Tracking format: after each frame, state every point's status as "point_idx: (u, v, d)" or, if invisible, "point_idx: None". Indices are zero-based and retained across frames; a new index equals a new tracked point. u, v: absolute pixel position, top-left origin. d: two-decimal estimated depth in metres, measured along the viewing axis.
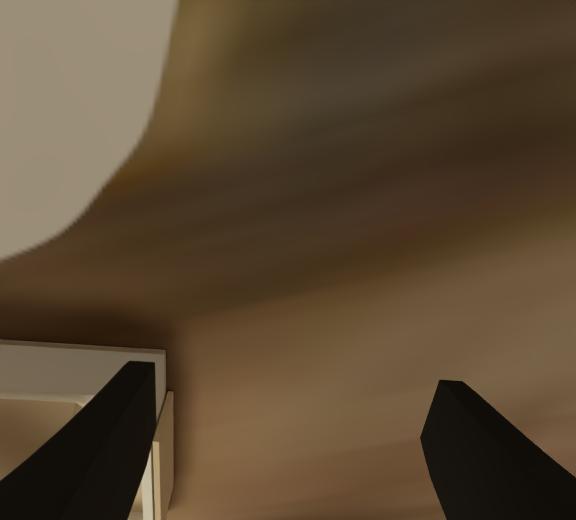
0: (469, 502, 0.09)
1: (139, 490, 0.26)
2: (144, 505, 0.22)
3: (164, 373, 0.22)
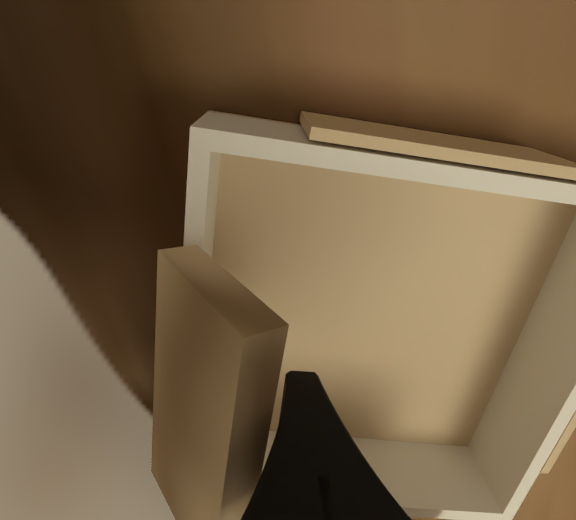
0: None
1: (518, 210, 0.14)
2: (485, 187, 0.11)
3: (249, 117, 0.13)
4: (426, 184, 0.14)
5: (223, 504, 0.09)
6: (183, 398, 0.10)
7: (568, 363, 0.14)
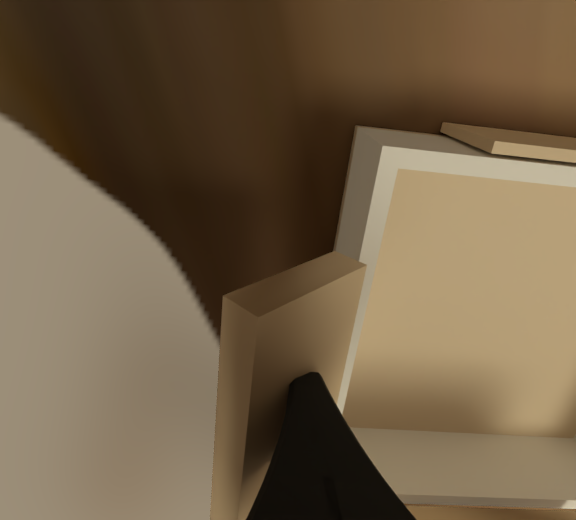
0: None
1: None
2: None
3: (396, 131, 0.13)
4: (558, 187, 0.14)
5: (215, 453, 0.10)
6: None
7: None
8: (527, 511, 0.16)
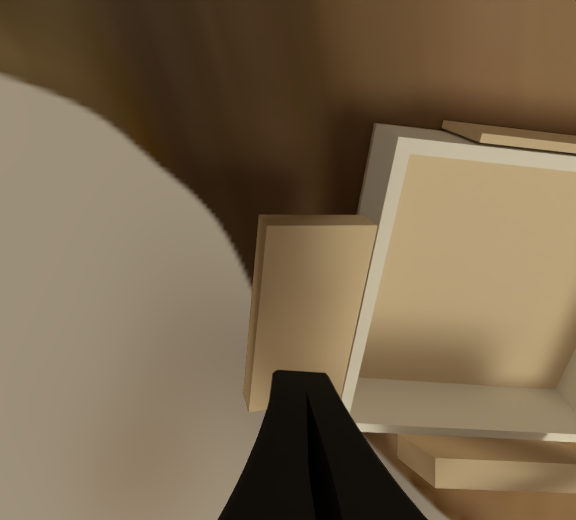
0: None
1: None
2: None
3: (407, 127, 0.17)
4: (536, 172, 0.18)
5: (249, 329, 0.15)
6: None
7: None
8: (514, 440, 0.19)
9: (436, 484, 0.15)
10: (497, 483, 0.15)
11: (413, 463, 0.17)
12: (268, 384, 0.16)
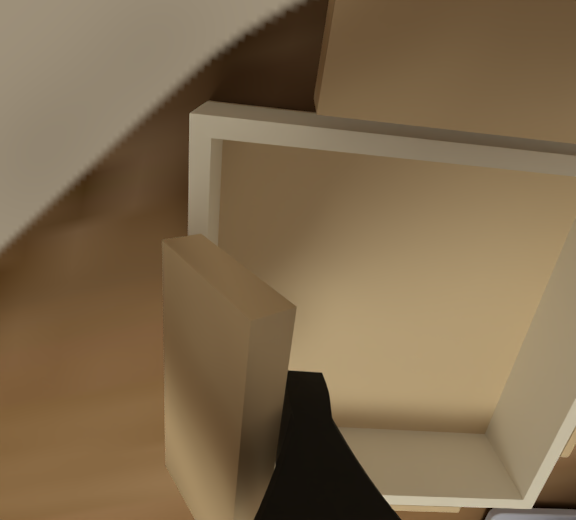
0: None
1: (474, 397, 0.18)
2: None
3: None
4: (510, 331, 0.16)
5: None
6: None
7: (382, 480, 0.16)
8: None
9: (256, 321, 0.07)
10: (251, 418, 0.08)
11: (209, 270, 0.09)
12: None
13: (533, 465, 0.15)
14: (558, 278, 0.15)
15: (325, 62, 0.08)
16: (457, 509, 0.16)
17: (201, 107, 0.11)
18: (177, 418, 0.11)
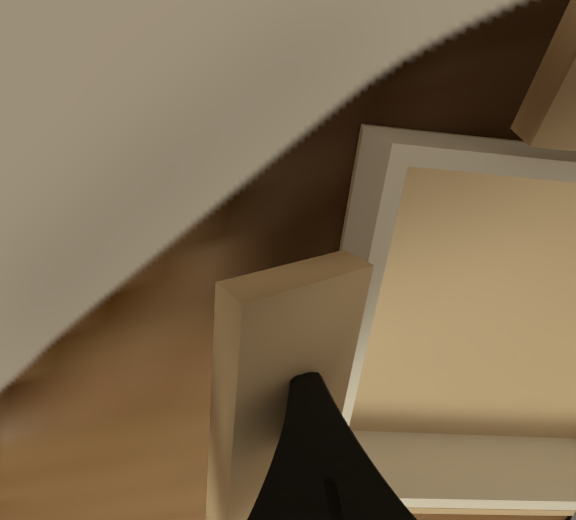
0: None
1: None
2: None
3: None
4: None
5: None
6: None
7: (500, 486, 0.16)
8: None
9: (218, 286, 0.09)
10: (217, 378, 0.09)
11: (297, 267, 0.10)
12: None
13: None
14: None
15: (553, 99, 0.09)
16: (572, 512, 0.17)
17: (380, 134, 0.11)
18: None
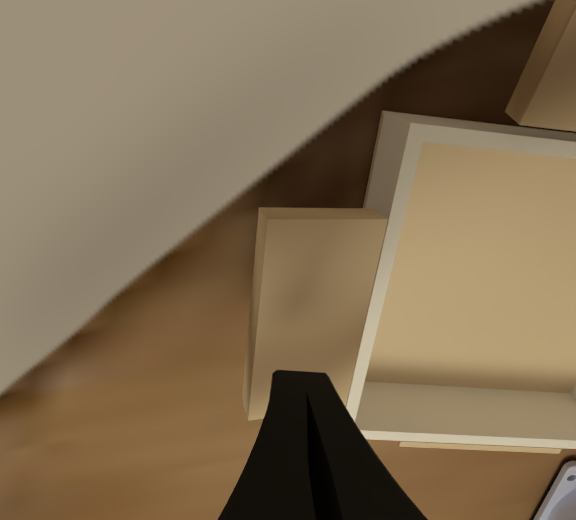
0: None
1: (565, 360, 0.21)
2: None
3: None
4: None
5: None
6: None
7: (496, 426, 0.19)
8: (351, 361, 0.15)
9: (260, 210, 0.12)
10: (254, 280, 0.13)
11: (323, 210, 0.13)
12: None
13: None
14: None
15: (537, 87, 0.11)
16: (558, 450, 0.19)
17: (399, 117, 0.14)
18: None
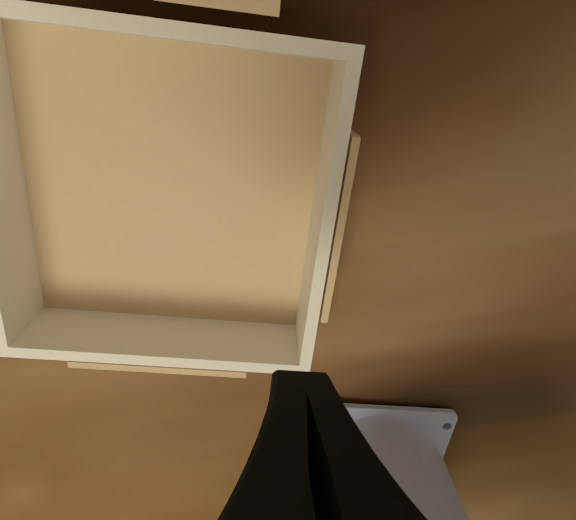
0: None
1: (277, 287, 0.20)
2: (318, 257, 0.16)
3: None
4: (294, 222, 0.19)
5: None
6: None
7: (177, 349, 0.18)
8: None
9: None
10: None
11: None
12: None
13: (303, 333, 0.18)
14: (318, 168, 0.17)
15: None
16: (244, 375, 0.18)
17: None
18: None
